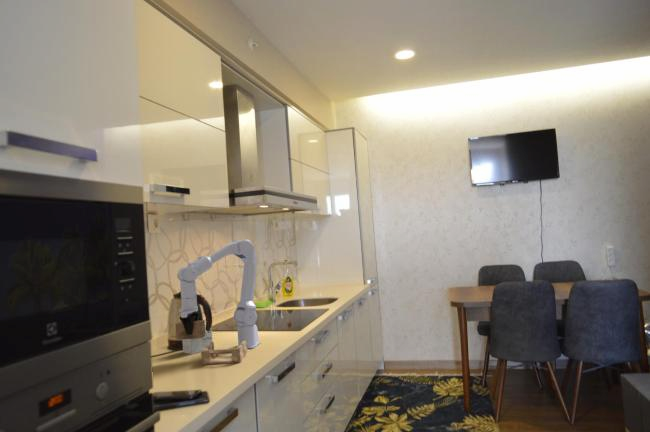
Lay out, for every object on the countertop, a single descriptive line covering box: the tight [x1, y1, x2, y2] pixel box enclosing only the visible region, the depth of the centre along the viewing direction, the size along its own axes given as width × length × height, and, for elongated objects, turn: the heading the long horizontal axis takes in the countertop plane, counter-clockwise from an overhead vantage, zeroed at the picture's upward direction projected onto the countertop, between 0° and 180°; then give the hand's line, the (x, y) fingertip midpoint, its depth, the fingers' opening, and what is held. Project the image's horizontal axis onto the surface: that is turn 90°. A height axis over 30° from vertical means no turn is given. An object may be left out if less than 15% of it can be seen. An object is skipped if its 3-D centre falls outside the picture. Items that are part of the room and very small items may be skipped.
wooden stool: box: [200, 340, 248, 366], centre depth 178 cm, size 14×14×5 cm
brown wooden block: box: [175, 319, 206, 341], centre depth 182 cm, size 10×4×6 cm, turn 89°
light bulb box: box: [182, 321, 214, 355], centre depth 196 cm, size 11×7×11 cm, turn 141°
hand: (191, 333), depth 182 cm, fingers closed on brown wooden block, 4 cm apart
